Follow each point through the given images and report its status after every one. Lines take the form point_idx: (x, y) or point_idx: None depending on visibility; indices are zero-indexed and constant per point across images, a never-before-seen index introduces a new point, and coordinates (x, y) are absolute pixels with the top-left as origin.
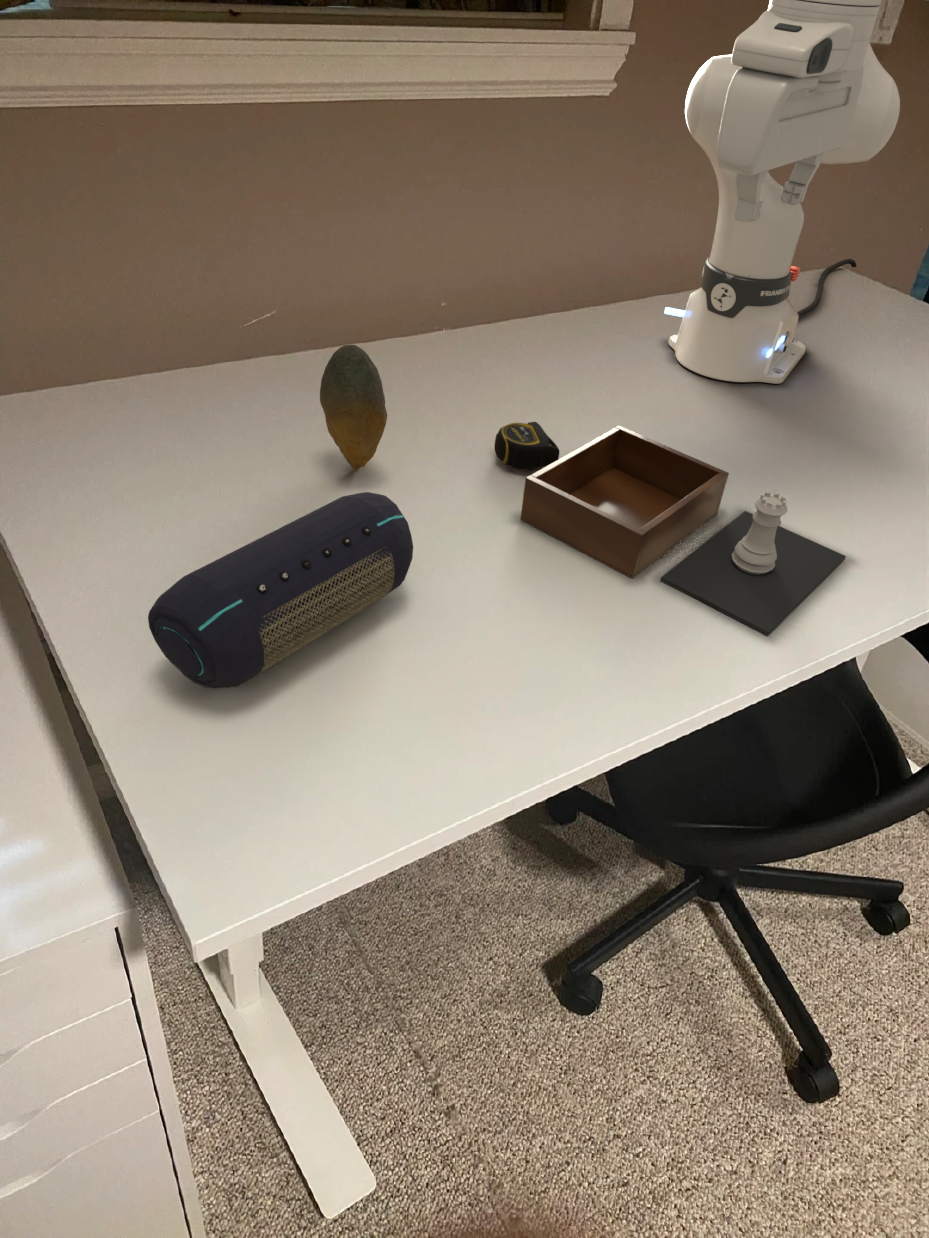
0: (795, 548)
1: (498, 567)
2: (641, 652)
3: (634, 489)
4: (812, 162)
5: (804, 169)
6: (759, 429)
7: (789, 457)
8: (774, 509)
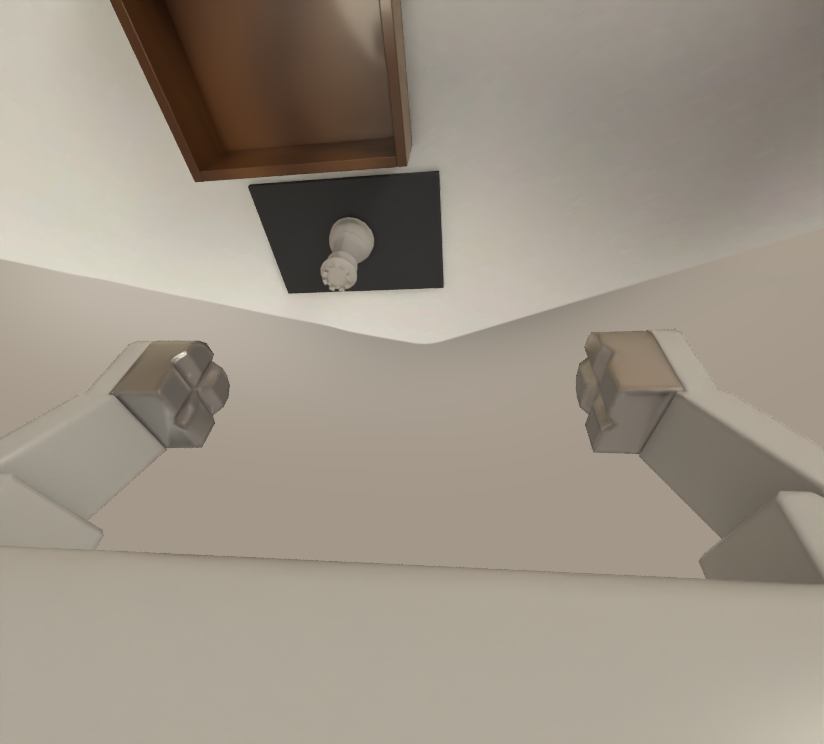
0: (415, 251)
1: (53, 13)
2: (172, 236)
3: (354, 3)
4: (711, 565)
5: (727, 493)
6: (738, 11)
7: (644, 123)
8: (328, 284)
